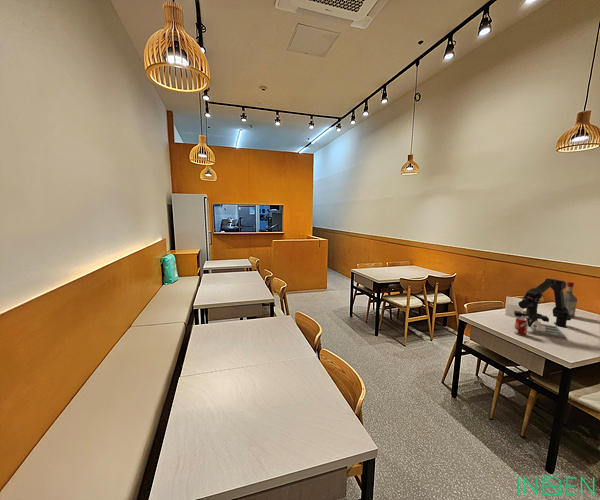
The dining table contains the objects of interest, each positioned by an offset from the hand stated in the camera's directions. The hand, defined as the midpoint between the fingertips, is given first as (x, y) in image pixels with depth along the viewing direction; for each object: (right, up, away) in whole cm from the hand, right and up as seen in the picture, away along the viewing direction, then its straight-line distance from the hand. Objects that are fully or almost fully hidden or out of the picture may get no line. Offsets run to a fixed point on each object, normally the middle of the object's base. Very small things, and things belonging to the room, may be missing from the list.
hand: (529, 326), depth 183 cm
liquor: (+59, 0, +29) cm, 66 cm away
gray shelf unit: (+12, -3, 0) cm, 12 cm away
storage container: (+19, +1, +35) cm, 40 cm away
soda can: (-12, -4, -5) cm, 13 cm away
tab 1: (+12, -1, +7) cm, 14 cm away
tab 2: (+5, -2, -3) cm, 7 cm away
